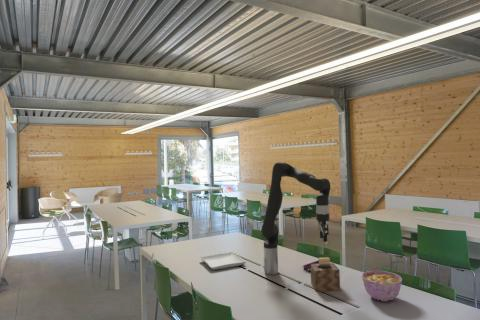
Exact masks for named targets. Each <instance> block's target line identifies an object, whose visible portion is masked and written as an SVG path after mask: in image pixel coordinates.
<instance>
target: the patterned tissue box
mask: <svg viewBox="0 0 480 320" xmlns="http://www.w3.org/2000/svg"><path fill="white" fill-rule="evenodd" d="M340 272H341V271H340V269H339V268H338V266H336V264H335V263H334V262H330V268H319V264H311V267H310V284H311V285H312V288H313V289H314V291H315V292H336V291H337V292H338V291H339V290H340V291H341V281H340V280H341V278H340V276H341V274H340Z"/></svg>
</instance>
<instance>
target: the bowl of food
mask: <svg viewBox="0 0 480 320" xmlns="http://www.w3.org/2000/svg"><path fill="white" fill-rule="evenodd" d="M361 278H362V281H363V286H364V288H365V291H366V293H367V294H368V295H369V296H370V297H371V298H372V299H375V300H376V299H377V301H379V300H381V301H380V302H389V301H388V300H390V301H392V300H395V299H396V298H397V297H398V296H399V293H400V290H401V287H402V283H403V278H402V277H401V276H400V275H398V274H397V273H393V272H391V271H387V270H368V271H365V272H363V273H362V274H361Z"/></svg>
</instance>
